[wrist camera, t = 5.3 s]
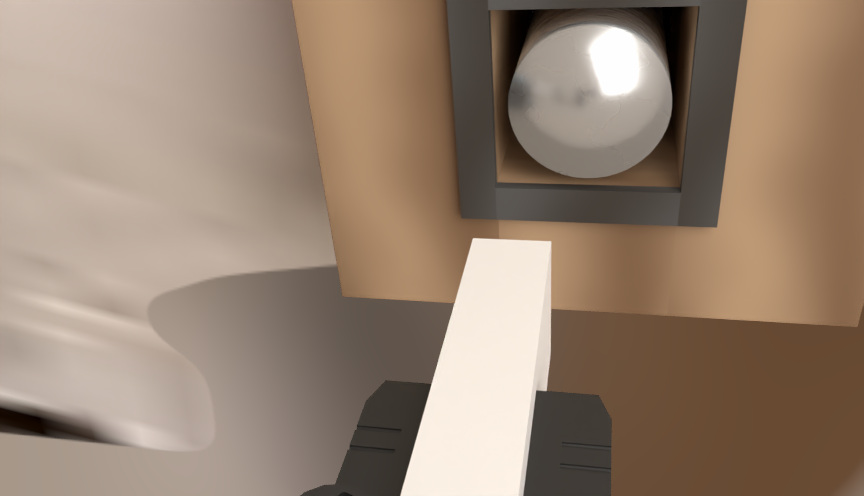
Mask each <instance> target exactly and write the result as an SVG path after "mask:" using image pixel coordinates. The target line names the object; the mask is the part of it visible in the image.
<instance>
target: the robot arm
mask: <svg viewBox="0 0 864 496" xmlns="http://www.w3.org/2000/svg"><path fill="white" fill-rule="evenodd" d="M550 353H551V241H532V240H506V239H481V238H473V240H472V243H471V247H470V251H469V254H468V258H467V261H466V265H465V268H464V272H463V275H462V279H461V282H460V286H459V290H458V293H457V297H456V300H455V304H454V308H453V311H452V314H451V318H450V322H449V325H448V329H447V332H446V336H445V339H444V343H443V346H442V350H441V353H440V357H439V361H438V364H437V368H436V371H435V375H434V378H433V382H432V384H424V383H411V382H398V381H385V382H384V383H383V384H382V385H381V386H380V387H379V388H378V389H377V390H376V391H375V392H374V393H373V395H372V396H370V397H369V399H368V400H367V401H366V403H365V405H364V409H363V411H362V413H361V416H360V419H359V422H358V424H357V430H355V432H354V435H353V438H352V440H351V443H350V449H349V450H348V451H347V454H346V456H345V459H344V462H343V465H342V467H341V470H340V473H339V475H338V478H337V481H336V484H335V485H323V486H320V487H318V488H315V489H312V490H309V491H307V492H305V493H303V494H302V495H301V496H611V427H612V422H611V421H612V420H611V418H610V416H609V414H608V412H607V410H606V408H605V406H604V404H603V403H602V401H601V399H600V397H599V395H590V394H577V393H564V392H552V391H547V380H548V372H549V363H550Z"/></svg>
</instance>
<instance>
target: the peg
mask: <svg viewBox="0 0 864 496" xmlns="http://www.w3.org/2000/svg"><path fill="white" fill-rule="evenodd" d="M671 111H672V91H671V83H670V74H669V66H668V58H667V50H666V41H665V33H664V25H663V16H662V8H661V7H628V8H577V9H535V11H534V14H533V17H532V20H531V23H530V26H529V29H528V32H527V36H526V39H525V42H524V45H523V48H522V51H521V54H520V58H519V61H518V64H517V67H516V70H515V73H514V76H513V80H512V83H511V86H510V90H509V96H508V112H509V118H510V122H511V126H512V129H513V131H514V134H515V136H516V137H517V139H518V141H519V143H520V144H521V145H522V147H523V148H524V149H525V151H526V152H527V153H528V154H529V155H530V156H531V157H532V158H534V159H535V160H536V161H537V162H539V163H540V164H542V165H543V166H545V167H546V168H548V169H550V170H553V171H555V172H557V173H560V174H563V175H566V176H571V177H577V178H599V177H606V176H610V175H614V174H617V173H620V172H622V171H625V170H627V169H629V168H631V167H632V166H634V165H636V164H637V163H639V162H640V161H642V160H643V159H644V158H645V157H646V156H648V155H649V154H650V153H651V152H652V151H653V149H654V148H655V147H656V146H657V145H658V143H659V142H660V140H661V139H662V137H663V135H664V133H665V131H666V129H667V127H668V124H669V120H670V117H671Z"/></svg>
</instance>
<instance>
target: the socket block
mask: <svg viewBox="0 0 864 496" xmlns="http://www.w3.org/2000/svg"><path fill="white" fill-rule="evenodd" d="M292 5H293V11H294V17H295V23H296V29H297V34H298V40H299V46H300V52H301V58H302V63H303V69H304V75H305V81H306V87H307V92H308V98H309V104H310V110H311V116H312V121H313V127H314V133H315V139H316V145H317V150H318V156H319V162H320V168H321V174H322V179H323V185H324V191H325V197H326V203H327V208H328V214H329V220H330V226H331V232H332V238H333V243H334V249H335V255H336V261H337V267H338V272H339V278H340V284H341V290H342V296H343V297H360V298H361V297H362V298H377V299H394V300H395V299H396V300H412V301H428V302H445V303H455V300H456V297H457V293H458V290H459V286H460V282H461V279H462V275H463V272H464V268H465V265H466V261H467V258H468V254H469V251H470V247H471V243H472V240H473V238H481V239H506V240H532V241H551V309H564V310H582V311H597V312H615V313H632V314H648V315H665V316H683V317H699V318H717V319H733V320H752V321H768V322H785V323H801V324H818V325H835V326H853V327H857V326H858V322H859V318H860V315H861V310H862V307H863V303H864V0H292ZM628 7H672V19H671V31H670V43H669V55H668V66H669V74H670V83H671V91H672V111H671V117H670V120H669V124H668V127H667V129H666V131H665V133H664V135H663V137H662V139H661V140H660V142H659V143H658V145H657V146H656V147H655V148H654V149H653V151H652V152H651V153H650V154H649V155H648V156H646V157H645V158H644V159H643V160H642V161H640V162H639V163H637V164H636V165H634V166H632V167H631V168H629V169H627V170H625V171H622V172H620V173H617V174H614V175H610V176H606V177H599V178H577V177H571V176H566V175H563V174H560V173H557V172H555V171H553V170H550V169H548V168H546V167H545V166H543V165H542V164H540V163H539V162H537V161H536V160H535V159H534V158H532V157H531V156H530V155H529V154H528V153H527V152H526V151H525V149H524V148H523V147H522V145H521V144H520V143H519V141H518V139H517V137H516V136H515V134H514V131H513V129H512V126H511V122H510V118H509V112H508V96H509V90H510V86H511V83H512V80H513V76H514V73H515V70H516V67H517V64H518V61H519V58H520V54H521V51H522V48H523V45H524V42H525V39H526V36H527V9H577V8H628Z"/></svg>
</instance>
